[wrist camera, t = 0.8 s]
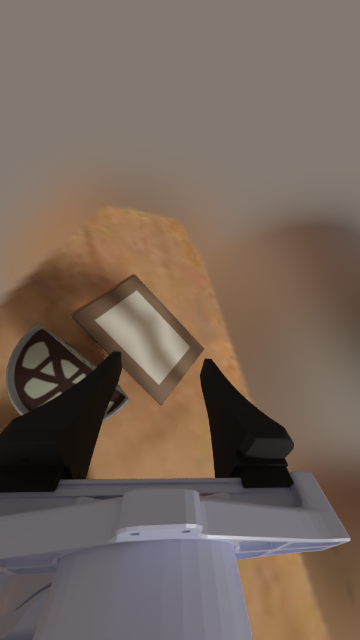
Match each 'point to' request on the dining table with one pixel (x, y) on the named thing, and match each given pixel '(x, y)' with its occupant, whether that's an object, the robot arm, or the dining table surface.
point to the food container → (49, 372)
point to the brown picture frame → (141, 336)
